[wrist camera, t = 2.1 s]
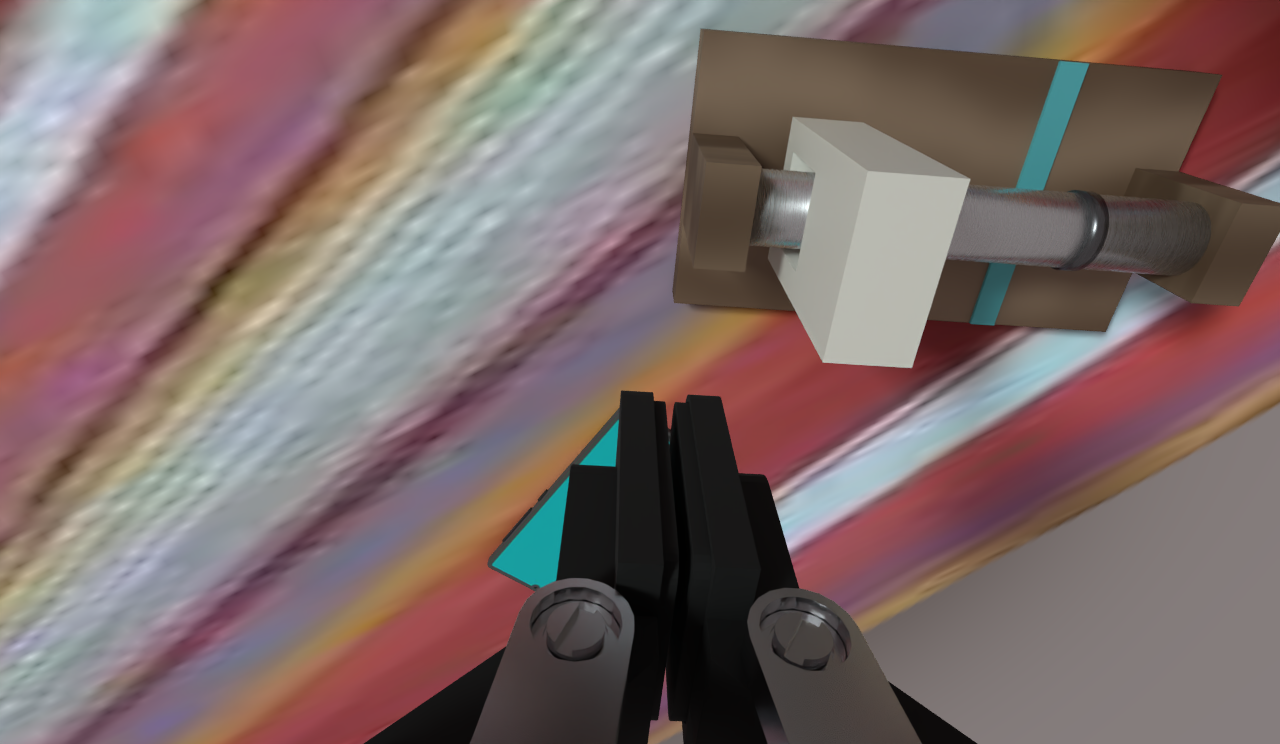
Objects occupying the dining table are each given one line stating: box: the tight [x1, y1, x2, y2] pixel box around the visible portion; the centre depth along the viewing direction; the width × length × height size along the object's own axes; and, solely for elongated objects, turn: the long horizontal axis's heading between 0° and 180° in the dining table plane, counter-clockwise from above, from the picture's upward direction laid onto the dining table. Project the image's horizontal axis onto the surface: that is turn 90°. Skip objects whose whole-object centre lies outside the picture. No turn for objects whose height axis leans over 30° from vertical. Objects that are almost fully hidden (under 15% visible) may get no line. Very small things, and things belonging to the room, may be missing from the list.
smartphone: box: [488, 408, 671, 591], centre depth 41 cm, size 7×1×15 cm
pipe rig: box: [673, 29, 1280, 332], centre depth 29 cm, size 12×22×8 cm, turn 86°
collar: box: [768, 117, 970, 368], centre depth 25 cm, size 6×3×10 cm, turn 176°
